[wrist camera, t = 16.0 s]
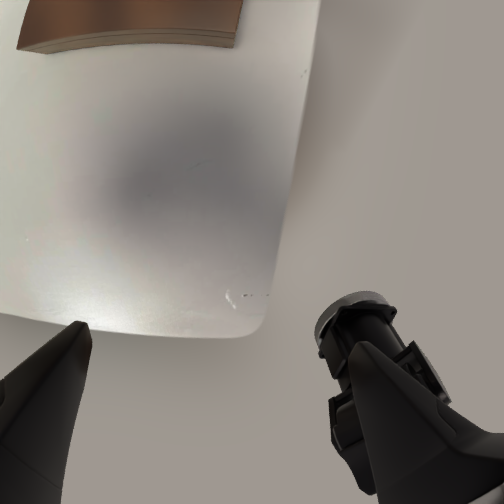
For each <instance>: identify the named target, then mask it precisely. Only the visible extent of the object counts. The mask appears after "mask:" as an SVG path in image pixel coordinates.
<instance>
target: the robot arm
mask: <svg viewBox="0 0 504 504" xmlns="http://www.w3.org/2000/svg"><path fill="white" fill-rule="evenodd" d="M342 311H344V312H342ZM396 313H397V310H396V308H395V307H394V306H350V305H343V306H341V307H339V308H338V310H337V313H336V315H335V317H334V319H333V322H332V324H331V326H330V327H329V329H328V331H327V334H326V336H325V338H324V340H323V342H322V345H321V348H320V350H319V353H318V354H319V357H320V358H321V359H323V358H324V359H326V362H327V364H328V367H329V370H330V373H331V375H332V378H333V379H337V380H338V382H339V385H340V388H341V390H342V393H340V394H339V395H337V396H336V397H332V398H330V399H329V400H328V402H329V416H330V428H331V442H332V444H333V445H334V447H335V449H336V450H337V452H338V454H339V455H340V456H341V457H342V458H343V459H344V460H345V461H346V462H347V464H348V465H349V467H350V469H351V471H352V473H353V475H354V477H355V479H356V482H357V484H358V487H359V489H361V490H362V491H363V492H365V493H366V494H368V495H373V494H376V493H377V497H378V502H379V504H504V433H490V432H487V431H484V430H482V429H481V428H479V427H478V426H476V425H475V424H473V423H472V422H470V421H469V420H467V419H466V418H464V417H462V416H461V415H460V414H458V413H457V412H456V411H454V410H453V409H451V408H450V407H449V406H448V404H449V403H451V402H452V401H451V399H450V397H449V395H448V393H447V391H446V389H445V387H444V385H443V383H442V381H441V379H440V377H439V376H438V374H437V372H436V371H435V369H434V368H433V366H432V365H431V363H430V361H429V360H428V359H427V357H426V356H425V355H424V353H423V352H422V351H421V349H420V348H419V347H418V345H417V344H416V343H415V342H414V340H413V341H412V342H411V343H410V344H409V346H408V347H406V346H405V345H404V343H403V342H402V340H401V338H400V337H399V335H398V334H397V332H396V330H395V329H394V327H393V326H392V324H391V323H392V321H393V319H394V317H395V315H396ZM91 349H92V338H91V334H90V330H89V327H88V324H87V323H86V322H81V321H74V322H73V323H71V324H70V325H69V326H68V327H66V328H65V329H64V330H62V331H61V332H60V333H58V334H57V335H56V336H55V337H53V338H52V339H51V340H49V341H48V342H47V343H46V344H44V345H43V346H42V347H41V348H39V349H38V350H37V351H36V352H34V353H33V354H32V355H31V356H29V357H28V358H27V359H26V360H25V361H23V362H22V363H21V364H20V365H18V366H17V367H16V368H15V369H14V370H13V371H11V372H10V373H9V374H8V375H6V376H5V377H4V379H2V380H0V504H61V495H62V487H63V479H64V474H65V467H66V462H67V457H68V451H69V446H70V442H71V437H72V433H73V429H74V424H75V420H76V416H77V412H78V408H79V405H80V401H81V397H82V393H83V390H84V386H85V380H86V376H87V370H88V365H89V360H90V355H91Z"/></svg>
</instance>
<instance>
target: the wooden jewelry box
mask: <svg viewBox="0 0 504 504" xmlns="http://www.w3.org/2000/svg"><path fill="white" fill-rule="evenodd" d="M242 4H243V0H30V1H29V4H28V7H27V10H26V13H25V17H24V20H23V24H22V27H21V31H20V35H19V39H18V44H17V48H16V50H22V51H29V52H35V53H42V54H51V53H56V52H61V51H67V50H73V49H79V48H87V47H95V46H105V45H117V44H135V43H176V44H195V45H207V46H218V47H226V48H233V46H234V41H235V37H236V32H237V27H238V23H239V18H240V13H241V8H242Z"/></svg>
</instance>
